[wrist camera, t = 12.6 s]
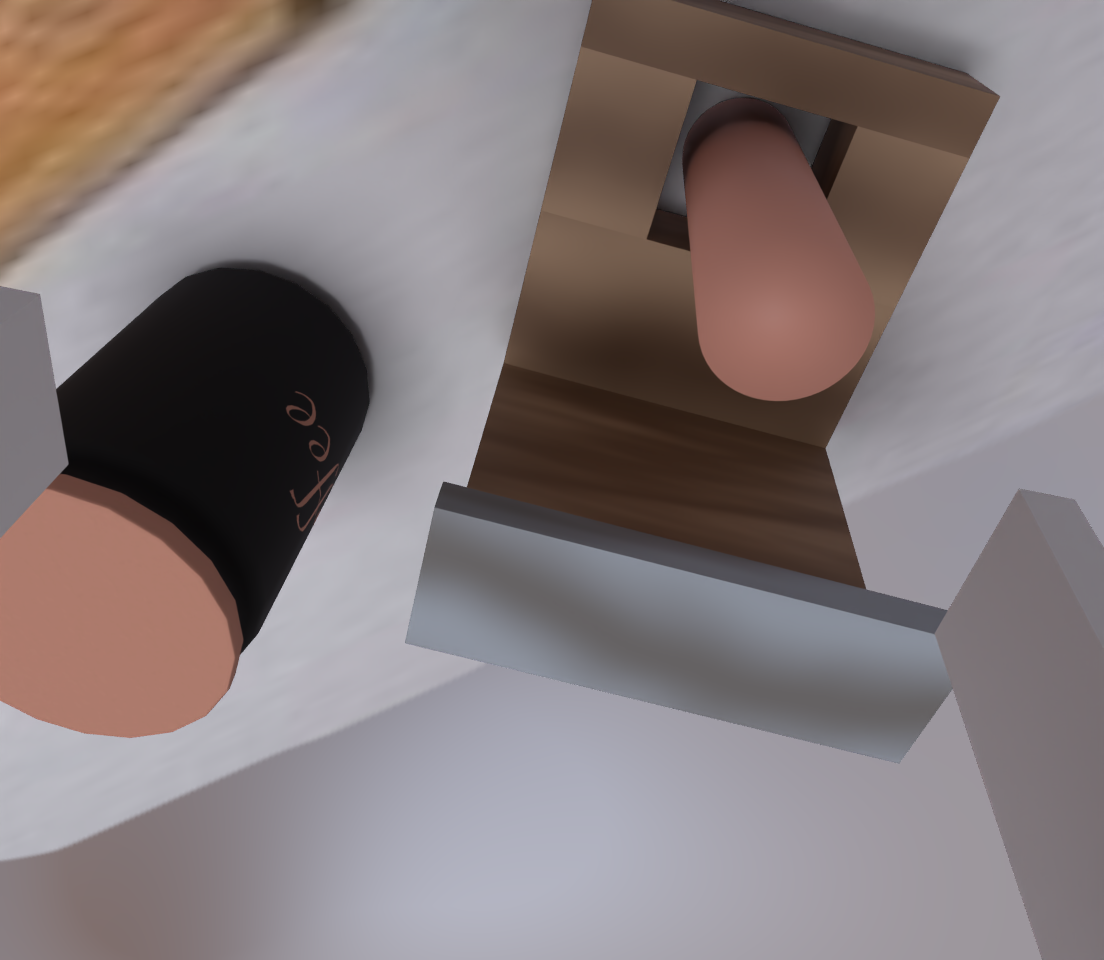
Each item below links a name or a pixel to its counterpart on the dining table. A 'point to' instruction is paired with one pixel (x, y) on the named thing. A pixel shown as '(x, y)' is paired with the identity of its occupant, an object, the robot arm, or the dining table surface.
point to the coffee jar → (176, 503)
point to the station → (695, 406)
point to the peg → (768, 259)
